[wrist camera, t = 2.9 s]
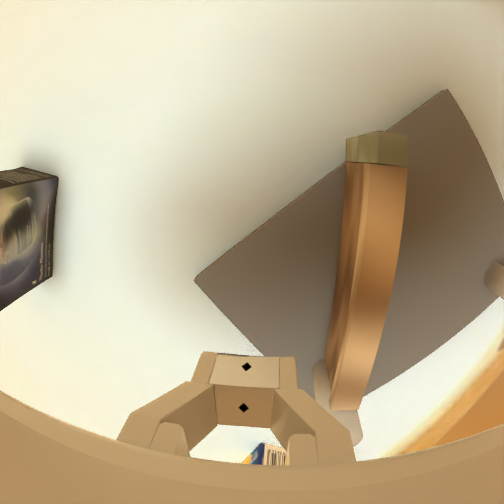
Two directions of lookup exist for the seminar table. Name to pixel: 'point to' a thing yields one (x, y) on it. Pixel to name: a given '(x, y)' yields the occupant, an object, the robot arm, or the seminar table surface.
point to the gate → (365, 261)
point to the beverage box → (266, 455)
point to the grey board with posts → (407, 270)
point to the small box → (25, 231)
